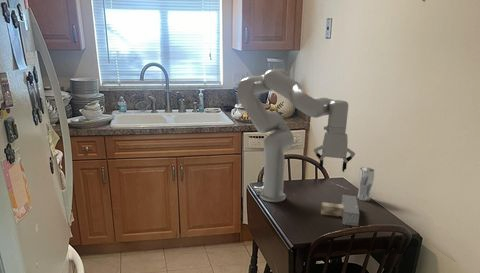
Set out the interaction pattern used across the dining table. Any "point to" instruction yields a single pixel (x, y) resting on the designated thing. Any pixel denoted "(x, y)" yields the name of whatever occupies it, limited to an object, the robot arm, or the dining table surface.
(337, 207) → the bar
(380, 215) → the dining table surface
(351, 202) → the housing
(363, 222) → the dining table surface
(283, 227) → the dining table surface
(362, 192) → the beer glass
